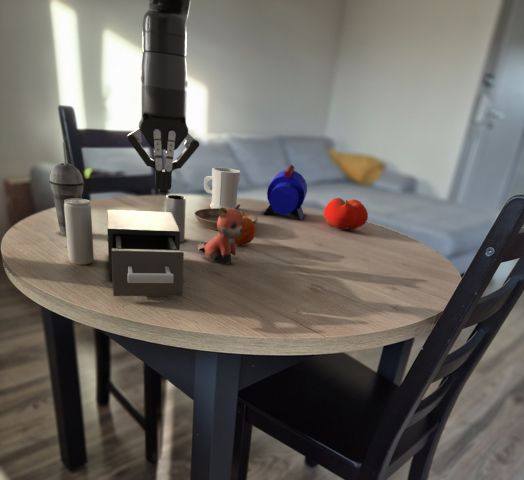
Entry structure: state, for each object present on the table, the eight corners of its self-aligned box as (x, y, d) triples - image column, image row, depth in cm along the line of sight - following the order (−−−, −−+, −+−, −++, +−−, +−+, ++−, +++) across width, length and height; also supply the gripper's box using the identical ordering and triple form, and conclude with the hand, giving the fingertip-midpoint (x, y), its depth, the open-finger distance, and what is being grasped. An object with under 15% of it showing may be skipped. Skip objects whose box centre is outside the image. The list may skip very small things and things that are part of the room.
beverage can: (66, 264, 95) (61, 202, 89) (71, 257, 99) (66, 197, 93) (92, 266, 95) (88, 204, 90) (95, 258, 100) (92, 199, 94)
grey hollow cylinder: (164, 237, 119) (164, 194, 114) (182, 237, 120) (183, 195, 116) (167, 242, 115) (168, 198, 110) (186, 242, 117) (187, 199, 112)
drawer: (186, 309, 80) (188, 263, 76) (113, 310, 76) (111, 262, 73) (173, 269, 96) (174, 230, 92) (112, 269, 93) (111, 228, 89)
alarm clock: (304, 214, 161) (311, 167, 154) (299, 221, 150) (307, 171, 143) (268, 208, 163) (274, 161, 156) (261, 215, 152) (267, 165, 145)
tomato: (313, 227, 145) (318, 197, 141) (327, 221, 156) (332, 193, 152) (356, 237, 140) (363, 206, 136) (368, 230, 151) (374, 201, 147)
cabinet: (178, 281, 93) (180, 231, 89) (109, 281, 89) (107, 228, 85) (170, 257, 106) (171, 212, 101) (109, 256, 102) (107, 209, 97)
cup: (209, 212, 149) (211, 171, 143) (201, 205, 156) (203, 166, 150) (241, 212, 152) (244, 173, 147) (232, 206, 160) (235, 168, 154)
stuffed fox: (204, 248, 114) (207, 196, 108) (246, 259, 110) (251, 206, 105) (187, 255, 108) (189, 201, 102) (231, 267, 104) (235, 211, 99)
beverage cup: (86, 229, 118) (80, 141, 108) (88, 237, 112) (82, 145, 102) (54, 229, 115) (45, 138, 106) (54, 237, 109) (44, 142, 100)
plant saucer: (183, 226, 130) (184, 215, 128) (207, 214, 145) (208, 204, 144) (245, 238, 126) (246, 226, 125) (263, 224, 142) (264, 214, 140)
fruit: (243, 250, 116) (246, 217, 113) (220, 243, 119) (222, 210, 116) (259, 245, 122) (262, 213, 118) (237, 238, 125) (239, 207, 121)
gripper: (200, 90, 86) (196, 190, 94) (123, 80, 82) (125, 185, 90) (206, 91, 80) (201, 198, 88) (123, 80, 76) (126, 193, 84)
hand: (163, 191), depth 89 cm, fingers closed
